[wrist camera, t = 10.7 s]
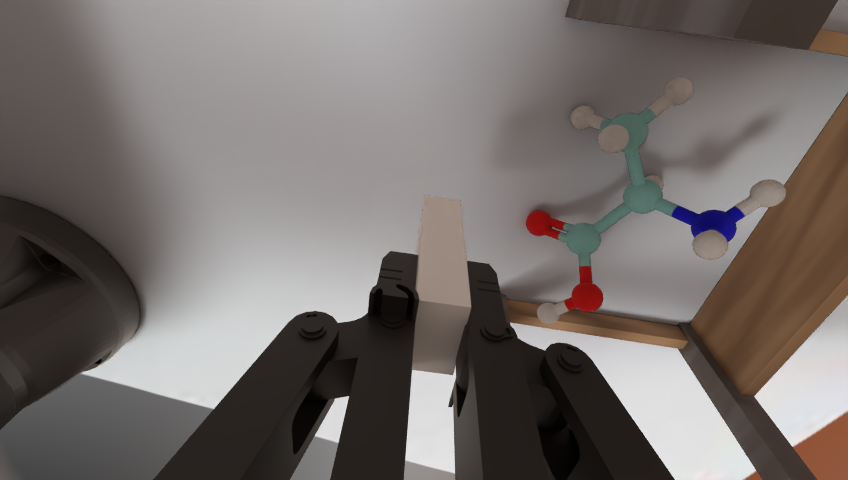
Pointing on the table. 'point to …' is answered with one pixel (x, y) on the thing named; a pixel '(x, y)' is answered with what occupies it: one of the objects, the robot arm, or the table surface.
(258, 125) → the table surface
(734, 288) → the housing
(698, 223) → the molecular model
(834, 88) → the table surface
